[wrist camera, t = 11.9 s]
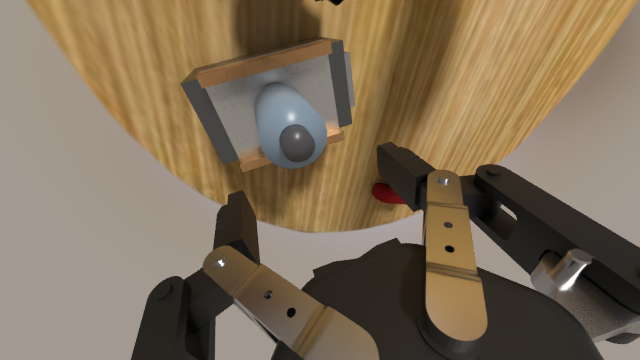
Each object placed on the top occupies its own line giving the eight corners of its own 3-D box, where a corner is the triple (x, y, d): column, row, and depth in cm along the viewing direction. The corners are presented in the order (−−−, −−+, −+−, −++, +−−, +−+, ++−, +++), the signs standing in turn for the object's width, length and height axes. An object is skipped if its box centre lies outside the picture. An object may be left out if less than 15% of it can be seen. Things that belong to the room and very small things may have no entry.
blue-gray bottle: (296, 76, 23) (326, 101, 15) (308, 124, 26) (338, 165, 18) (245, 91, 22) (249, 124, 15) (264, 138, 25) (275, 187, 18)
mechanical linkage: (368, 188, 50) (379, 203, 46) (380, 160, 47) (393, 172, 43) (423, 192, 56) (437, 205, 52) (437, 166, 53) (454, 178, 49)
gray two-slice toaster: (322, 29, 31) (363, 32, 21) (333, 102, 37) (369, 131, 27) (194, 62, 29) (171, 82, 19) (228, 133, 35) (224, 178, 25)
